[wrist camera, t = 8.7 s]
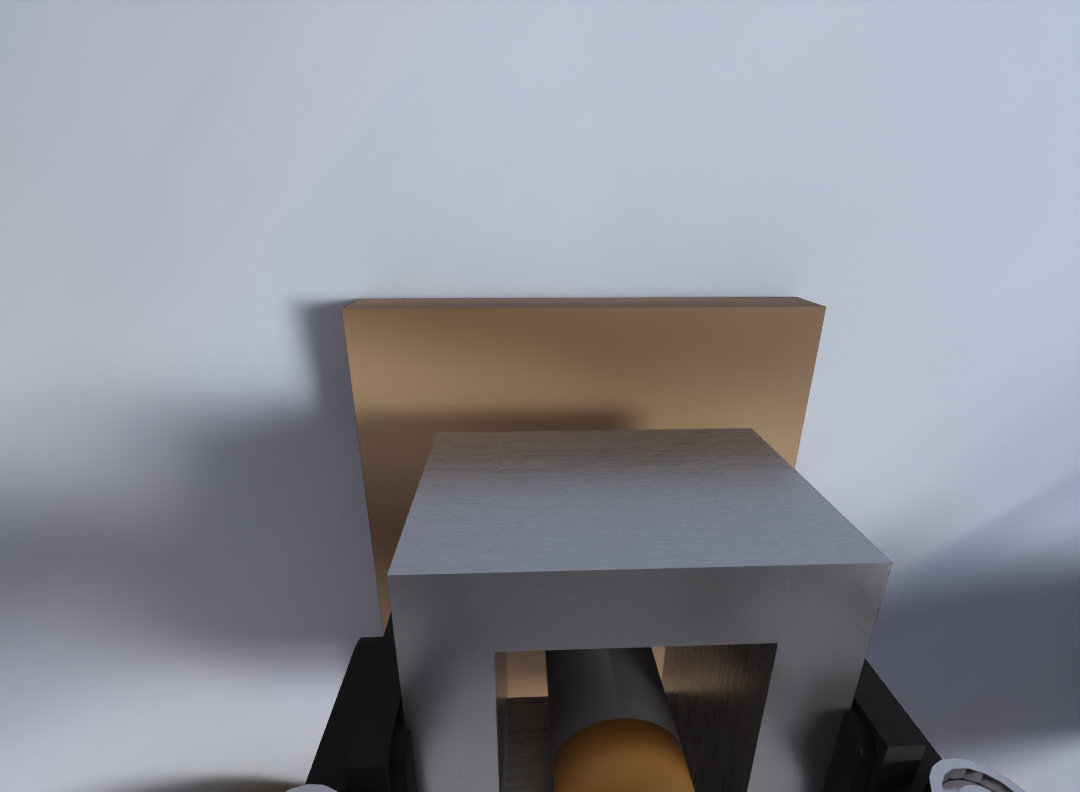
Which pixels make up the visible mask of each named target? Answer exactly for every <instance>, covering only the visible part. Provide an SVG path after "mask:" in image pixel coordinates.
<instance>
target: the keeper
mask: <svg viewBox="0 0 1080 792" xmlns="http://www.w3.org/2000/svg"><path fill="white" fill-rule="evenodd" d="M825 310H826V307H825V306H822V305H819V304H816V303H813V302H810V301H807V300H804V299H801V298H798V297H695V298H445V299H358V300H356V301H354V302H353V303H351V304H349V305H348V306H346V307H344V308H343V309H342V316H343V323H344V331H345V339H346V346H347V354H348V362H349V369H350V377H351V385H352V393H353V400H354V408H355V416H356V423H357V431H358V439H359V446H360V454H361V462H362V469H363V477H364V485H365V493H366V500H367V508H368V516H369V523H370V531H371V539H372V546H373V554H374V562H375V570H376V577H377V585H378V593H379V600H380V608H381V616H382V623H383V631H384V632H385V629H386V626H387V623H388V619H389V616H390V613H391V605H390V596H389V588H388V580H387V574H388V571H389V568H390V565H391V562H392V560H393V557H394V554H395V551H396V548H397V545H398V542H399V540H400V537H401V534H402V531H403V528H404V525H405V522H406V520H407V517H408V514H409V511H410V508H411V505H412V502H413V499H414V497H415V494H416V491H417V488H418V485H419V482H420V479H421V477H422V474H423V471H424V468H425V465H426V462H427V459H428V457H429V454H430V451H431V448H432V445H433V442H434V439H435V437H436V434H437V433H440V432H510V431H579V430H648V429H717V428H752V429H753V430H754V431H755V432H756V433H757V434H758V435H759V436H760V437H761V438H762V439H763V440H765V441H766V442H767V443H768V444H769V445H770V446H771V447H772V448H773V449H774V450H775V451H776V452H777V453H778V454H779V455H780V456H781V457H782V458H783V459H784V460H785V461H787V462H788V463H789V464H790V465H791V466H792V467H793V468H794V469H795V464H796V459H797V454H798V449H799V444H800V438H801V433H802V428H803V423H804V418H805V413H806V408H807V402H808V397H809V392H810V387H811V382H812V377H813V372H814V366H815V361H816V356H817V351H818V346H819V341H820V336H821V330H822V325H823V320H824V315H825ZM664 654H665V647H636V648H604V649H572V650H541V651H509V652H507V687H508V698H513V697H541V696H548V704H549V720H550V736H551V752H552V768H553V784H554V792H695V790H694V787H693V784H692V780H691V777H690V774H689V771H688V767H687V764H686V761H685V757H684V754H683V751H682V747H681V744H680V741H679V737H678V734H677V731H676V727H675V724H674V721H673V718H672V714H671V711H670V708H669V704H668V701H667V698H666V694H665V691H664V688H663V684H662V672H663V663H664Z"/></svg>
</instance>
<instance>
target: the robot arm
mask: <svg viewBox="0 0 1080 792" xmlns="http://www.w3.org/2000/svg"><path fill="white" fill-rule="evenodd" d="M286 792H418V787H417V779H416V770H415V761H414V753H413V744H412V736H411V730H406V729H405V720H404V712H403V704H402V696H401V687H400V679H399V671H398V663H397V654H396V646H395V638H394V630H393V621H392V613H390V616H389V619H388V623H387V626H386V629H385V632H384V636H383V637H364V638H360V640H359V641H358V642H357V644H356V647H355V649H354V652H353V654H352V657H351V660H350V663H349V665H348V668H347V671H346V674H345V676H344V679H343V682H342V685H341V687H340V690H339V693H338V696H337V698H336V701H335V704H334V707H333V709H332V712H331V715H330V718H329V720H328V723H327V726H326V728H325V731H324V734H323V737H322V739H321V742H320V745H319V748H318V750H317V753H316V756H315V759H314V761H313V764H312V767H311V770H310V772H309V775H308V778H307V781H306V783H305V785H303V786H299V787H295V788H291V789H290V790H288V791H286ZM822 792H1025V791H1024V790H1023V789H1022V788H1020V787H1019V786H1018V785H1016V784H1015V783H1014V782H1013V781H1011V780H1010V779H1009V778H1007V777H1005V776H1003V775H1002V774H1000V773H998V772H997V771H995V770H993V769H991V768H990V767H987V766H984V765H982V764H979V763H976V762H974V761H971V760H965V759H959V758H950V759H943V760H942V759H941V757H940V756H939V755H938V753H937V752H936V751H935V749H934V748H933V747H932V746H931V744H930V743H929V742H928V740H927V739H926V738H925V736H924V735H923V734H922V732H921V731H920V730H919V729H918V727H917V726H916V725H915V723H914V722H913V721H912V719H911V718H910V717H909V715H908V714H907V713H906V712H905V710H904V709H903V708H902V706H901V705H900V704H899V702H898V701H897V700H896V698H895V697H894V696H893V695H892V693H891V692H890V691H889V689H888V688H887V687H886V685H885V684H884V683H883V681H882V680H881V679H880V678H879V676H878V675H877V674H876V672H875V671H874V670H873V668H872V667H871V666H870V664H869V663H868V662H867V660H866V659H865V660H864V663H863V667H862V670H861V674H860V677H859V680H858V684H857V687H856V691H855V694H854V698H853V701H852V705H851V708H850V712H849V713H846V714H844V717H843V720H842V724H841V727H840V731H839V734H838V738H837V741H836V745H835V748H834V752H833V755H832V759H831V763H830V766H829V770H828V773H827V777H826V780H825V784H824V787H823V791H822Z"/></svg>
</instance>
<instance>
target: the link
mask: <svg viewBox="0 0 1080 792" xmlns="http://www.w3.org/2000/svg"><path fill="white" fill-rule="evenodd" d="M891 566H892V562H891V561H890V560H889V559H888V558H887V557H886V556H885V555H884V554H883V553H882V552H881V551H880V550H879V549H878V548H877V547H875V546H874V545H873V544H872V543H871V542H870V541H869V540H868V539H867V538H866V537H865V536H864V535H863V534H862V533H861V532H860V531H859V530H858V529H857V528H856V527H855V526H854V525H852V524H851V523H850V522H849V521H848V520H847V519H846V518H845V517H844V516H843V515H842V514H841V513H840V512H839V511H838V510H837V509H836V508H835V507H834V506H833V505H832V504H830V503H829V502H828V501H827V500H826V499H825V498H824V497H823V496H822V495H821V494H820V493H819V492H818V491H817V490H816V489H815V488H814V487H813V486H812V485H811V484H810V483H808V482H807V481H806V480H805V479H804V478H803V477H802V476H801V475H800V474H799V473H798V472H797V471H796V470H795V469H794V468H793V467H792V466H791V465H790V464H789V463H788V462H787V461H785V460H784V459H783V458H782V457H781V456H780V455H779V454H778V453H777V452H776V451H775V450H774V449H773V448H772V447H771V446H770V445H769V444H768V443H767V442H766V441H765V440H763V439H762V438H761V437H760V436H759V435H758V434H757V433H756V432H755V431H754V430H753V429H752V428H717V429H648V430H579V431H510V432H440V433H437V434H436V437H435V439H434V442H433V445H432V448H431V451H430V454H429V457H428V459H427V462H426V465H425V468H424V471H423V474H422V477H421V479H420V482H419V485H418V488H417V491H416V494H415V497H414V499H413V502H412V505H411V508H410V511H409V514H408V517H407V520H406V522H405V525H404V528H403V531H402V534H401V537H400V540H399V542H398V545H397V548H396V551H395V554H394V557H393V560H392V562H391V565H390V568H389V571H388V574H387V580H388V588H389V596H390V605H391V613H392V621H393V630H394V638H395V646H396V654H397V663H398V671H399V679H400V687H401V696H402V704H403V712H404V720H405V729H406V730H411V736H412V744H413V753H414V761H415V770H416V779H417V787H418V792H554V784H553V768H552V752H551V736H550V720H549V704H548V696H541V697H513V698H508V687H507V652H509V651H541V650H572V649H604V648H636V647H665V654H664V663H663V672H662V684H663V688H664V691H665V694H666V698H667V701H668V704H669V708H670V711H671V714H672V718H673V721H674V724H675V727H676V731H677V734H678V737H679V741H680V744H681V747H682V751H683V754H684V757H685V761H686V764H687V767H688V771H689V774H690V777H691V780H692V784H693V787H694V790H695V792H822V791H823V787H824V784H825V780H826V777H827V773H828V770H829V766H830V763H831V759H832V755H833V752H834V748H835V745H836V741H837V738H838V734H839V731H840V727H841V724H842V720H843V717H844V714H846V713H849V712H850V708H851V705H852V701H853V698H854V694H855V691H856V687H857V684H858V680H859V677H860V674H861V670H862V667H863V663H864V660H865V656H866V653H867V649H868V646H869V642H870V639H871V635H872V632H873V628H874V625H875V621H876V618H877V614H878V611H879V607H880V604H881V600H882V597H883V593H884V590H885V586H886V583H887V580H888V576H889V573H890V569H891Z"/></svg>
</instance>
